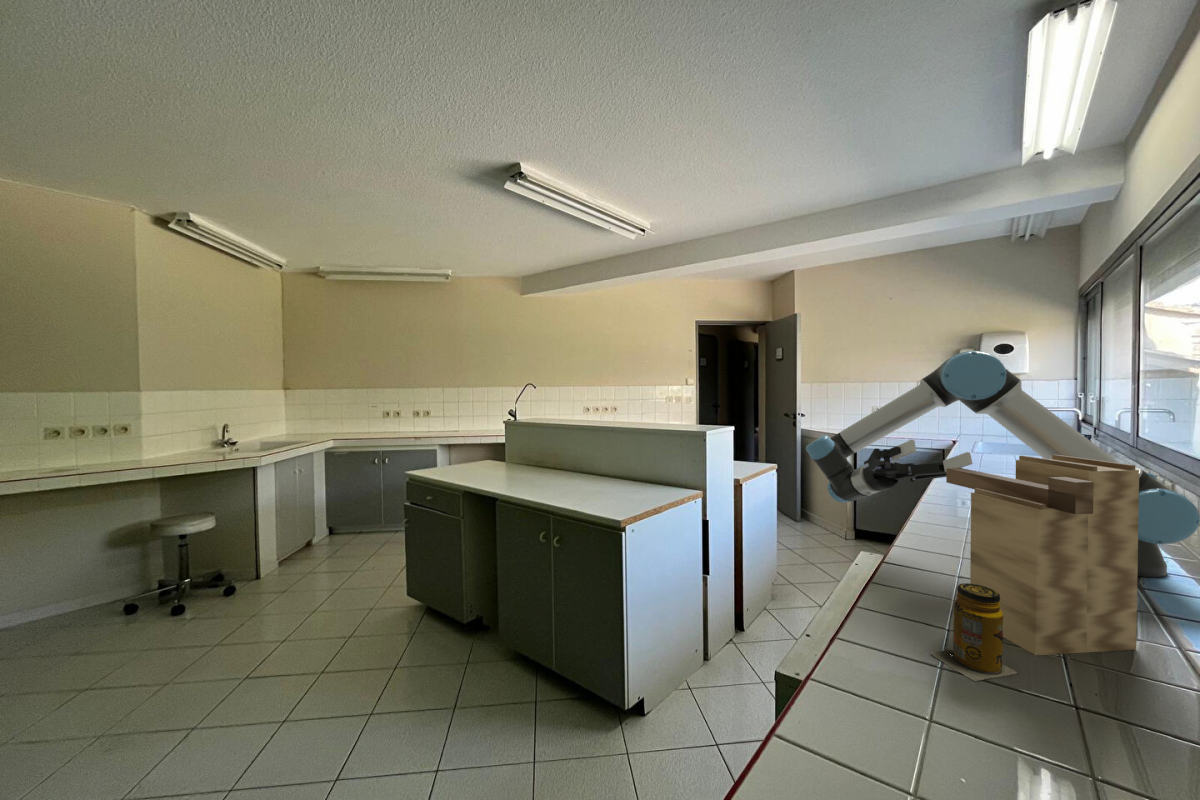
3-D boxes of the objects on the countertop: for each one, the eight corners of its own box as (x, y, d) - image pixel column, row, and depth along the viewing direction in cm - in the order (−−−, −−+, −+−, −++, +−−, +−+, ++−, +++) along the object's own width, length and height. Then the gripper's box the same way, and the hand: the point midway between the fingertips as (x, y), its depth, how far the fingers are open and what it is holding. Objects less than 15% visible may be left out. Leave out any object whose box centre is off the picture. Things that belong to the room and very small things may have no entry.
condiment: (1018, 673, 69) (1019, 596, 69) (974, 682, 67) (975, 603, 67) (969, 647, 76) (969, 577, 76) (929, 654, 74) (929, 582, 74)
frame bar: (959, 482, 94) (960, 458, 94) (1093, 513, 70) (1093, 481, 70) (946, 482, 94) (946, 458, 94) (1075, 514, 70) (1075, 482, 70)
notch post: (1057, 613, 87) (1059, 454, 86) (1136, 649, 75) (1139, 465, 74) (970, 618, 85) (971, 456, 85) (1035, 655, 73) (1037, 467, 73)
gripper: (920, 500, 118) (996, 479, 99) (831, 481, 116) (892, 456, 97) (915, 473, 121) (989, 447, 103) (829, 454, 120) (887, 424, 101)
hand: (942, 451), depth 100 cm, fingers open, 13 cm apart
